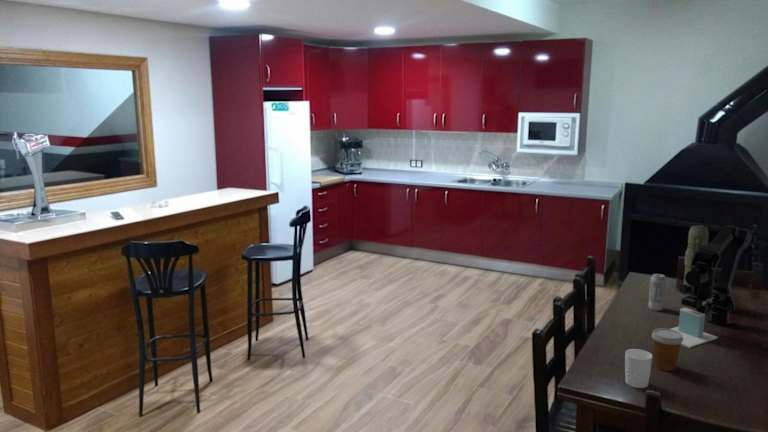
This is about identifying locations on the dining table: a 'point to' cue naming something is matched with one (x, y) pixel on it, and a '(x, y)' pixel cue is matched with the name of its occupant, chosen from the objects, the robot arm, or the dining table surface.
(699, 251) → the robot arm
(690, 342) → the mat
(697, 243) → the thermos
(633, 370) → the white cup
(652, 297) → the energy drink can
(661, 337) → the disposable coffee cup
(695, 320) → the slab
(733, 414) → the dining table surface
